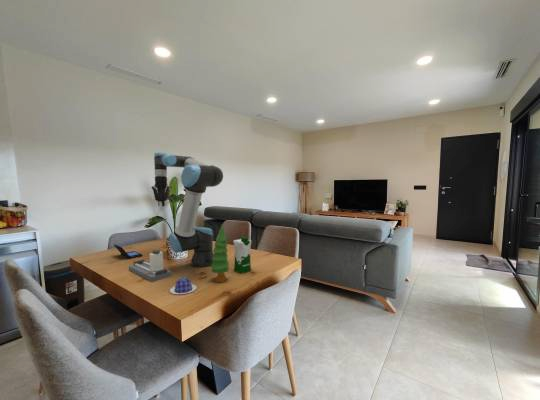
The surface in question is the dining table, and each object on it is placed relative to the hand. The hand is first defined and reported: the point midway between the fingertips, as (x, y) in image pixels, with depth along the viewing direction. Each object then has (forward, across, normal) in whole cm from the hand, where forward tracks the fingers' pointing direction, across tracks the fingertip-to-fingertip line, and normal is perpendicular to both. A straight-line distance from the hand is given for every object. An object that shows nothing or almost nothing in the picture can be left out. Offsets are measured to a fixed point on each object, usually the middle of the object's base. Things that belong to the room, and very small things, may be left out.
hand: (161, 211), depth 166 cm
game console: (+33, +27, -1) cm, 42 cm away
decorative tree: (+33, -52, +31) cm, 69 cm away
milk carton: (+33, -60, +15) cm, 70 cm away
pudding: (+33, -39, +45) cm, 68 cm away
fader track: (+32, -9, +27) cm, 43 cm away
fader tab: (+30, -16, +31) cm, 46 cm away
